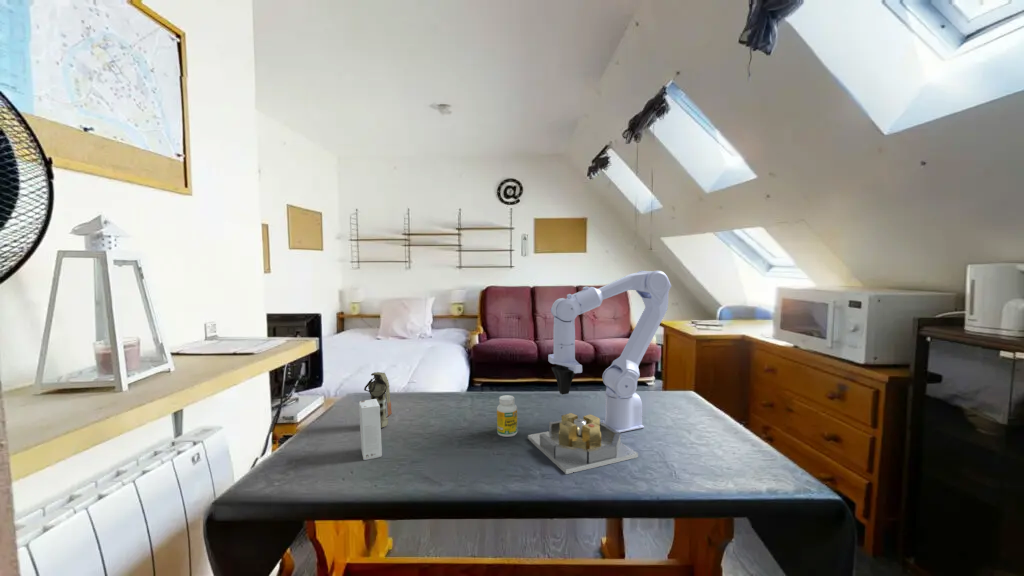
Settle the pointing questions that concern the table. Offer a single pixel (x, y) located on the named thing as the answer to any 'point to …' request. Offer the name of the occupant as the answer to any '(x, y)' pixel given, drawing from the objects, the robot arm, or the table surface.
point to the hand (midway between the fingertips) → (564, 393)
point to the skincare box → (370, 429)
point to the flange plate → (579, 465)
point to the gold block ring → (589, 432)
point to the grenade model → (380, 395)
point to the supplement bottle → (506, 416)
